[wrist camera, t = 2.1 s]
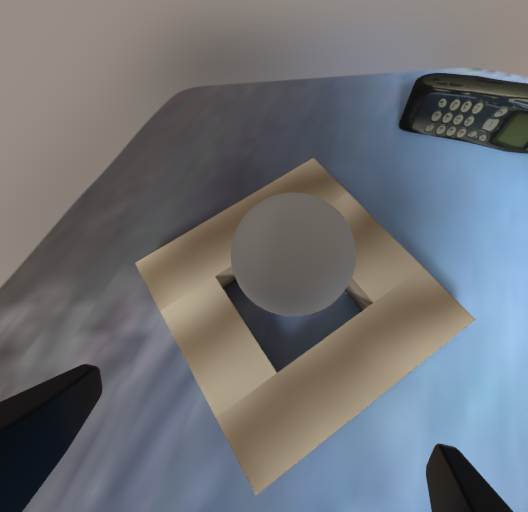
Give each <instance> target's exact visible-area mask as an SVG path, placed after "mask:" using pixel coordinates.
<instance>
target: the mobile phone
mask: <svg viewBox="0 0 528 512" xmlns="http://www.w3.org/2000/svg"><path fill="white" fill-rule="evenodd" d="M399 126H400V128H401V129H403V130H405V131H409V132H415V133H421V134H426V135H432V136H437V137H443V138H448V139H454V140H459V141H465V142H470V143H474V144H479V145H483V146H487V147H491V148H495V149H499V150H503V151H508V152H517V153H528V84H527V83H518V82H510V81H503V80H496V79H490V78H485V77H480V76H469V75H458V74H447V73H433V74H427V75H424V76H421V77H420V78H418V79H417V80H416V82H415V84H414V86H413V88H412V91H411V94H410V96H409V99H408V101H407V104H406V107H405V109H404V112H403V115H402V117H401V120H400V125H399Z"/></svg>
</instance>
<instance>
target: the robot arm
mask: <svg viewBox="0 0 528 512" xmlns="http://www.w3.org/2000/svg"><path fill="white" fill-rule="evenodd" d="M101 394H102V381H101V374H100V369H99V368H98V367H97V366H93V365H88V364H83V365H80V366H78V367H76V368H74V369H72V370H69V371H67V372H65V373H63V374H61V375H58V376H56V377H54V378H52V379H50V380H47V381H45V382H43V383H41V384H39V385H36V386H34V387H32V388H30V389H28V390H25V391H23V392H21V393H19V394H17V395H14V396H12V397H10V398H8V399H6V400H3V401H1V402H0V512H22V511H23V510H24V508H25V507H26V506H27V504H28V503H29V502H30V500H31V499H32V498H33V496H34V495H35V494H36V492H37V491H38V489H39V488H40V487H41V485H42V484H43V483H44V481H45V480H46V479H47V477H48V476H49V475H50V473H51V472H52V471H53V469H54V468H55V466H56V465H57V464H58V462H59V461H60V460H61V458H62V457H63V455H64V454H65V453H66V451H67V450H68V448H69V447H70V445H71V444H72V442H73V440H74V439H75V437H76V435H77V434H78V432H79V431H80V429H81V427H82V426H83V424H84V423H85V421H86V419H87V418H88V416H89V414H90V413H91V411H92V410H93V408H94V406H95V405H96V403H97V401H98V400H99V398H100V396H101ZM426 478H427V484H428V490H429V497H430V503H431V509H432V512H513V511H512V510H511V508H510V507H509V506H508V505H507V504H506V503H505V502H504V501H503V499H502V498H501V497H500V496H499V495H498V494H497V493H496V492H495V490H494V489H493V488H492V487H491V486H490V485H489V484H488V483H487V481H486V480H485V479H484V478H483V477H482V476H481V475H480V473H479V472H478V471H477V470H476V469H475V468H474V467H473V466H472V464H471V463H470V462H469V461H468V460H467V459H466V458H465V457H464V455H463V454H462V453H461V452H460V451H459V450H458V449H457V448H455V447H453V446H448V445H444V444H437V445H435V447H434V449H433V452H432V454H431V456H430V459H429V461H428V464H427V467H426Z"/></svg>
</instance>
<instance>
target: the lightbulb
mask: <svg viewBox="0 0 528 512" xmlns="http://www.w3.org/2000/svg"><path fill="white" fill-rule="evenodd" d="M355 263H356V247H355V242H354V237H353V235H352V232H351V230H350V227H349V225H348V223H347V221H346V220H345V219H344V217H343V216H342V214H341V213H340V212H339V211H337V210H336V209H335V208H334V207H333V206H332V205H330V204H329V203H327V202H326V201H324V200H322V199H320V198H318V197H315V196H313V195H309V194H305V193H295V192H291V193H282V194H278V195H274V196H272V197H269V198H267V199H265V200H263V201H261V202H260V203H258V204H257V205H255V206H254V207H253V208H251V209H250V210H249V211H248V212H247V213H246V214H245V216H244V217H243V218H242V220H241V221H240V223H239V225H238V227H237V230H236V232H235V234H234V236H233V241H232V246H231V265H232V269H233V274H234V276H235V278H236V280H237V282H238V284H239V287H240V288H241V290H242V291H243V292H244V294H245V295H246V296H247V297H248V298H249V299H250V300H251V301H252V302H253V303H254V304H256V305H257V306H259V307H261V308H262V309H264V310H266V311H268V312H271V313H274V314H277V315H281V316H288V317H297V316H306V315H309V314H313V313H317V312H319V311H321V310H323V309H325V308H327V307H328V306H330V305H331V304H332V303H334V302H335V301H336V300H337V299H338V298H339V297H340V296H341V295H342V293H343V292H344V291H345V290H346V288H347V286H348V284H349V282H350V280H351V278H352V276H353V272H354V269H355Z"/></svg>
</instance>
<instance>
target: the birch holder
mask: <svg viewBox="0 0 528 512" xmlns="http://www.w3.org/2000/svg"><path fill="white" fill-rule="evenodd" d="M291 192H295V193H305V194H309V195H313V196H315V197H318V198H320V199H322V200H324V201H326V202H327V203H329V204H330V205H332V206H333V207H334V208H335V209H336V210H337V211H339V212H340V213H341V214H342V216H343V217H344V219H345V220H346V221H347V223H348V225H349V227H350V230H351V232H352V235H353V237H354V242H355V247H356V263H355V269H354V272H353V276H352V278H351V280H350V282H349V284H348V286H347V288H346V291H347V292H348V293H349V294H350V295H351V297H352V298H353V299H354V300H355V301H356V302H357V304H358V305H359V306H360V307H361V308H362V310H363V311H362V312H360V313H359V314H357V315H356V316H355V317H353V318H352V319H351V320H349V321H348V322H346V323H345V324H344V325H342V326H341V327H340V328H338V329H337V330H335V331H334V332H333V333H331V334H330V335H329V336H327V337H326V338H324V339H323V340H322V341H320V342H319V343H318V344H316V345H315V346H313V347H312V348H311V349H309V350H308V351H307V352H305V353H304V354H302V355H301V356H300V357H298V358H297V359H296V360H294V361H293V362H291V363H290V364H289V365H287V366H286V367H285V368H283V369H282V370H280V371H279V372H278V373H277V372H276V371H275V369H274V368H273V366H272V364H271V363H270V361H269V360H268V358H267V357H266V355H265V354H264V352H263V350H262V349H261V347H260V346H259V344H258V343H257V341H256V340H255V338H254V336H253V335H252V333H251V332H250V330H249V329H248V327H247V325H246V324H245V322H244V321H243V319H242V318H241V316H240V315H239V313H238V311H237V310H236V308H235V307H234V305H233V304H232V302H231V301H230V299H229V297H228V296H227V294H226V293H225V291H224V290H223V287H224V286H226V285H227V284H229V283H231V282H232V281H234V280H235V279H236V278H235V276H234V274H233V269H232V265H231V246H232V241H233V236H234V234H235V232H236V230H237V227H238V225H239V223H240V221H241V220H242V218H243V217H244V216H245V214H246V213H247V212H248V211H249V210H250V209H251V208H253V207H254V206H255V205H257V204H258V203H260V202H261V201H263V200H265V199H267V198H269V197H272V196H274V195H278V194H282V193H291ZM135 264H136V266H137V268H138V270H139V272H140V273H141V275H142V277H143V279H144V281H145V283H146V285H147V287H148V289H149V291H150V293H151V295H152V297H153V298H154V300H155V302H156V304H157V306H158V308H159V310H160V312H161V314H162V316H163V318H164V320H165V321H166V323H167V325H168V327H169V329H170V331H171V333H172V335H173V337H174V339H175V341H176V343H177V344H178V346H179V348H180V350H181V352H182V354H183V356H184V358H185V360H186V362H187V364H188V366H189V367H190V369H191V371H192V373H193V375H194V377H195V379H196V381H197V383H198V385H199V387H200V389H201V391H202V392H203V394H204V396H205V398H206V400H207V402H208V404H209V406H210V408H211V410H212V412H213V414H214V415H215V417H216V419H217V421H218V423H219V425H220V427H221V429H222V431H223V433H224V435H225V437H226V438H227V440H228V442H229V444H230V446H231V448H232V450H233V452H234V454H235V456H236V458H237V460H238V461H239V463H240V465H241V467H242V469H243V471H244V473H245V475H246V477H247V479H248V481H249V483H250V485H251V486H252V488H253V490H254V492H255V494H256V495H258V494H259V493H260V492H261V491H263V490H264V489H265V488H266V487H268V486H269V485H270V484H271V483H272V482H274V481H275V480H276V479H277V478H279V477H280V476H281V475H282V474H284V473H285V472H286V471H287V470H289V469H290V468H291V467H292V466H294V465H295V464H296V463H297V462H299V461H300V460H301V459H302V458H304V457H305V456H306V455H307V454H309V453H310V452H311V451H312V450H314V449H315V448H316V447H317V446H319V445H320V444H321V443H322V442H324V441H325V440H326V439H327V438H329V437H330V436H331V435H332V434H334V433H335V432H336V431H337V430H339V429H340V428H341V427H342V426H344V425H345V424H346V423H347V422H349V421H350V420H351V419H352V418H353V417H355V416H356V415H357V414H358V413H360V412H361V411H362V410H363V409H365V408H366V407H367V406H368V405H370V404H371V403H372V402H373V401H375V400H376V399H377V398H378V397H380V396H381V395H382V394H383V393H385V392H386V391H387V390H388V389H390V388H391V387H392V386H393V385H395V384H396V383H397V382H398V381H400V380H401V379H402V378H403V377H405V376H406V375H407V374H408V373H410V372H411V371H412V370H413V369H415V368H416V367H417V366H418V365H420V364H421V363H422V362H423V361H425V360H426V359H427V358H428V357H429V356H431V355H432V354H433V353H434V352H436V351H437V350H438V349H439V348H441V347H442V346H443V345H444V344H446V343H447V342H448V341H449V340H451V339H452V338H453V337H454V336H456V335H457V334H458V333H459V332H461V331H462V330H463V329H464V328H466V327H467V326H468V325H469V324H471V323H472V322H473V321H474V320H476V319H475V318H474V317H473V316H472V315H471V314H470V313H469V312H468V311H467V310H466V309H465V308H464V307H463V306H462V305H461V304H460V303H459V302H458V301H457V300H456V299H455V298H454V297H453V296H452V295H451V294H450V293H449V292H448V291H447V290H446V289H445V288H444V287H443V286H442V285H441V284H440V283H439V282H438V281H437V280H436V279H435V278H434V277H433V276H431V275H430V274H429V273H428V272H427V271H426V270H425V269H424V268H423V267H422V266H421V265H420V264H419V263H418V262H417V261H416V260H415V259H414V258H413V257H412V256H411V255H410V254H409V253H408V252H407V251H406V250H405V249H404V248H403V247H402V246H401V245H400V244H399V243H398V242H397V241H396V240H395V239H394V238H393V237H392V236H391V235H390V234H389V233H388V232H387V231H386V230H385V229H384V228H383V227H382V226H381V225H380V224H379V223H378V222H377V221H376V220H375V219H374V218H373V217H372V216H371V215H370V214H369V213H368V212H367V211H366V210H365V209H364V208H363V207H362V206H361V205H360V204H359V203H358V202H357V201H356V200H355V199H354V198H353V197H352V196H351V195H350V194H349V193H348V192H347V191H346V190H345V189H344V188H343V187H342V186H341V185H340V184H339V183H338V182H337V181H336V180H335V179H334V178H333V177H332V176H331V175H330V174H329V173H328V172H327V171H326V170H325V169H324V168H323V167H322V166H321V165H320V164H319V163H318V162H317V161H316V160H315V159H314V158H312V159H310V160H309V161H307V162H305V163H304V164H302V165H300V166H299V167H297V168H295V169H294V170H292V171H290V172H288V173H287V174H285V175H283V176H282V177H280V178H278V179H277V180H275V181H273V182H272V183H270V184H268V185H266V186H265V187H263V188H261V189H260V190H258V191H256V192H255V193H253V194H251V195H250V196H248V197H246V198H244V199H243V200H241V201H239V202H238V203H236V204H234V205H233V206H231V207H229V208H228V209H226V210H224V211H222V212H221V213H219V214H217V215H216V216H214V217H212V218H211V219H209V220H207V221H206V222H204V223H202V224H200V225H199V226H197V227H195V228H194V229H192V230H190V231H189V232H187V233H185V234H184V235H182V236H180V237H178V238H177V239H175V240H173V241H172V242H170V243H168V244H167V245H165V246H163V247H162V248H160V249H158V250H156V251H155V252H153V253H151V254H150V255H148V256H146V257H145V258H143V259H141V260H139V261H138V262H136V263H135Z"/></svg>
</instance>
